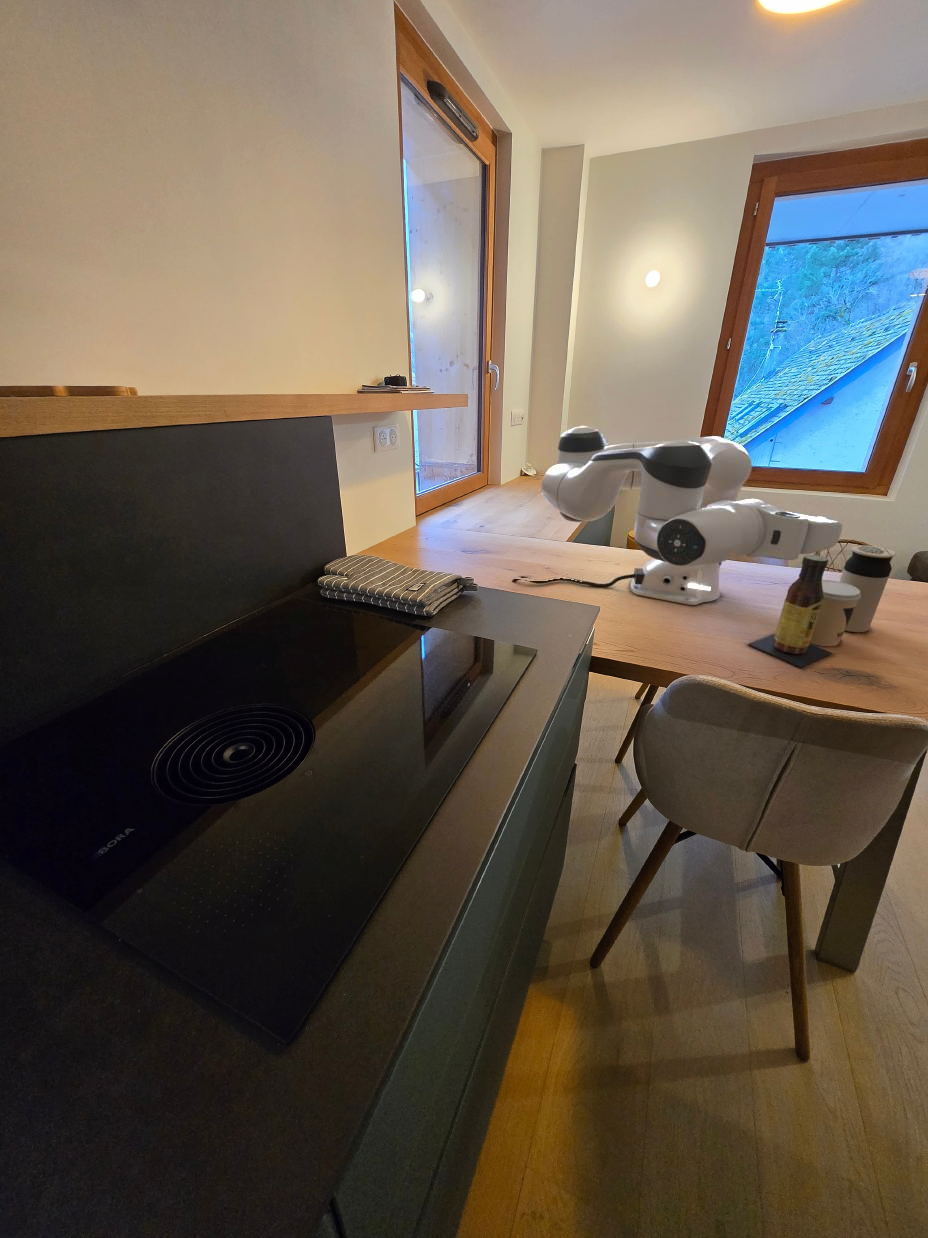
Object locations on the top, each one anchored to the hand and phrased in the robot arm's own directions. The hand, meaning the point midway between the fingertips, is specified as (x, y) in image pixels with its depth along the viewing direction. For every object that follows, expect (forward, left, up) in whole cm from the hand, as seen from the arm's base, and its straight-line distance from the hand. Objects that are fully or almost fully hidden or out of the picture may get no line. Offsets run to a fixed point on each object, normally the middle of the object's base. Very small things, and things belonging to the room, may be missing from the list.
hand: (794, 516), depth 85 cm
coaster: (+8, +9, -30) cm, 32 cm away
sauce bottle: (+8, +9, -30) cm, 32 cm away
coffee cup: (+15, +17, -30) cm, 38 cm away
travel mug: (+22, +27, -30) cm, 46 cm away
